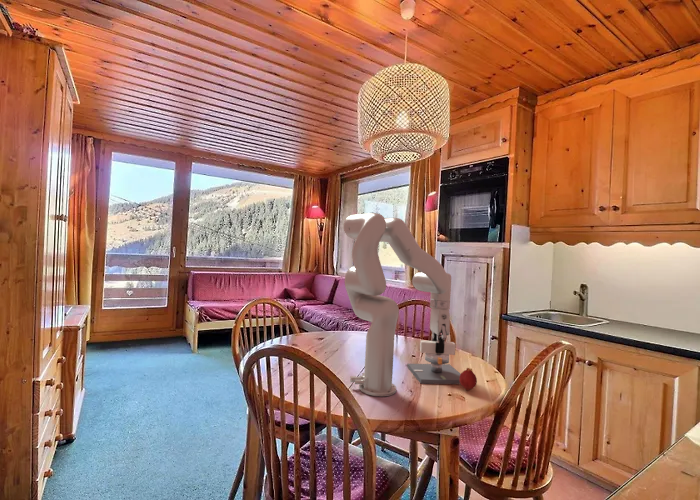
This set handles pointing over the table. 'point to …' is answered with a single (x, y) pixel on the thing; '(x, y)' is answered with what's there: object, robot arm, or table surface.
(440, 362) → the cap
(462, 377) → the onion
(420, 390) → the table surface
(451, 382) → the base
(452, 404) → the table surface
